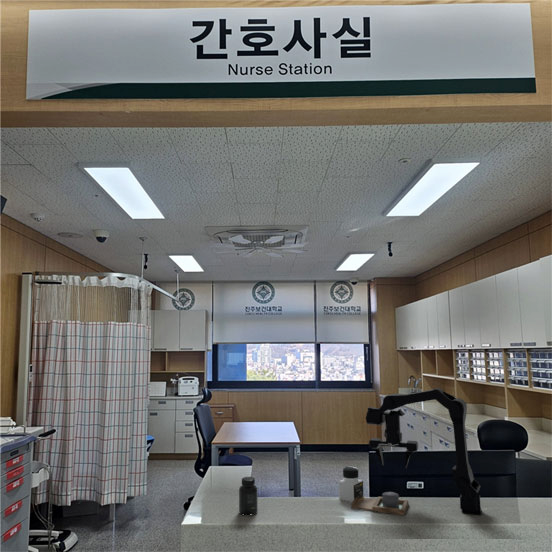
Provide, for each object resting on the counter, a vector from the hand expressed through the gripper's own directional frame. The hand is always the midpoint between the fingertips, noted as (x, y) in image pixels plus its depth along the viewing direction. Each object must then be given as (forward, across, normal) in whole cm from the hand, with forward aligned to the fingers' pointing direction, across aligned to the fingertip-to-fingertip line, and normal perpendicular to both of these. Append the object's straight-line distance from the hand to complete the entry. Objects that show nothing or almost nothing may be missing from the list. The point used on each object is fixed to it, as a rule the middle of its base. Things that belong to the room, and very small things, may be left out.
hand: (394, 466), depth 193 cm
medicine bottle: (+13, +16, +6) cm, 21 cm away
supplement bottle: (+12, +48, +34) cm, 60 cm away
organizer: (+12, +4, +11) cm, 17 cm away
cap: (+12, 0, +11) cm, 16 cm away
